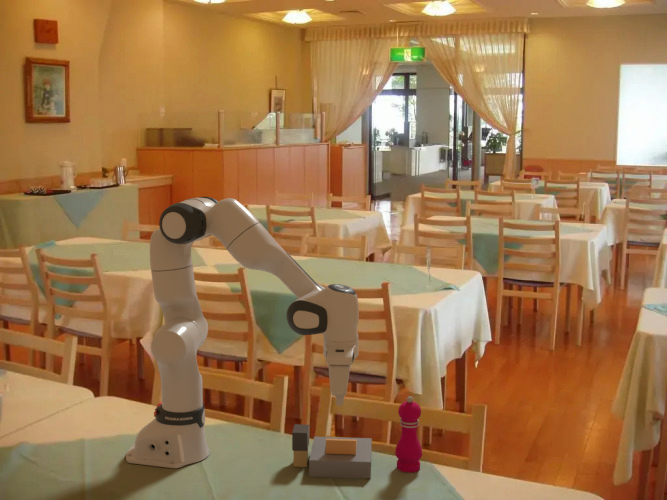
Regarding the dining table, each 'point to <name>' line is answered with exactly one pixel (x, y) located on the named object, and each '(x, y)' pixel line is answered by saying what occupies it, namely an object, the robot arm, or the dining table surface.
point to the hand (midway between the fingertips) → (340, 401)
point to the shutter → (341, 446)
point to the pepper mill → (409, 437)
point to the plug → (300, 444)
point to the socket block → (340, 460)
